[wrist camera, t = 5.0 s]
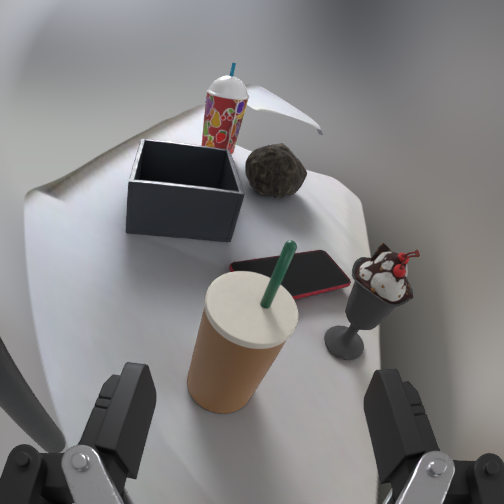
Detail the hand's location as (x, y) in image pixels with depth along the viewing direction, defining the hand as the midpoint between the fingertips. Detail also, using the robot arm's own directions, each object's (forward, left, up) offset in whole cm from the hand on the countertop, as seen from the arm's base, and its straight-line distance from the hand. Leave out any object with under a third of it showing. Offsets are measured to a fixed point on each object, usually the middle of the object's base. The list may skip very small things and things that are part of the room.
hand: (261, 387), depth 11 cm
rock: (+17, +45, -17) cm, 51 cm away
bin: (0, +36, -17) cm, 40 cm away
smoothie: (+8, +58, -17) cm, 61 cm away
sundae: (+18, +12, -17) cm, 27 cm away
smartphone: (+14, +22, -16) cm, 31 cm away
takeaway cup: (+3, +8, -17) cm, 19 cm away
